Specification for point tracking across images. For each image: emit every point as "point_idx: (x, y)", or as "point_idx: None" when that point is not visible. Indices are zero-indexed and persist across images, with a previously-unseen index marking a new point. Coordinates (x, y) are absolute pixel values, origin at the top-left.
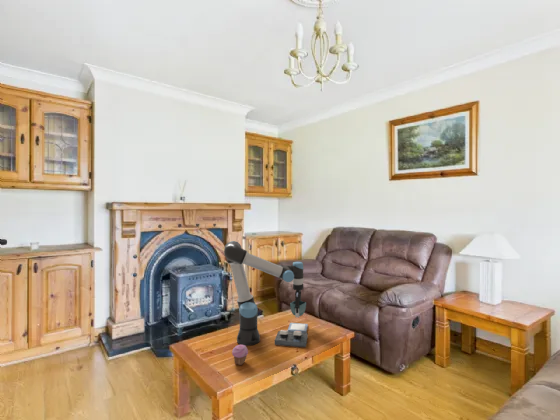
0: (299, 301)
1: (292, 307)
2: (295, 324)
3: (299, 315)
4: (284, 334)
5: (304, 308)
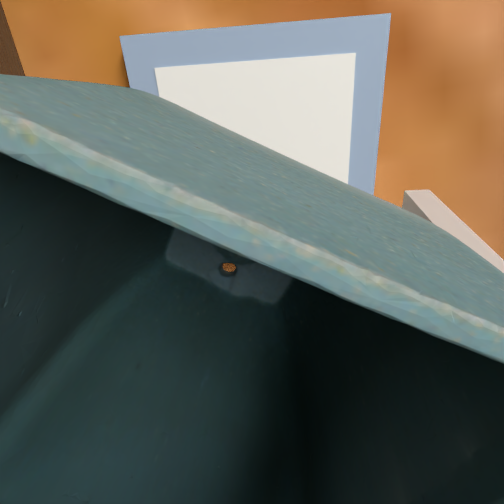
0: (466, 485)
1: (35, 188)
2: (325, 115)
3: (138, 280)
4: None
5: (237, 438)
